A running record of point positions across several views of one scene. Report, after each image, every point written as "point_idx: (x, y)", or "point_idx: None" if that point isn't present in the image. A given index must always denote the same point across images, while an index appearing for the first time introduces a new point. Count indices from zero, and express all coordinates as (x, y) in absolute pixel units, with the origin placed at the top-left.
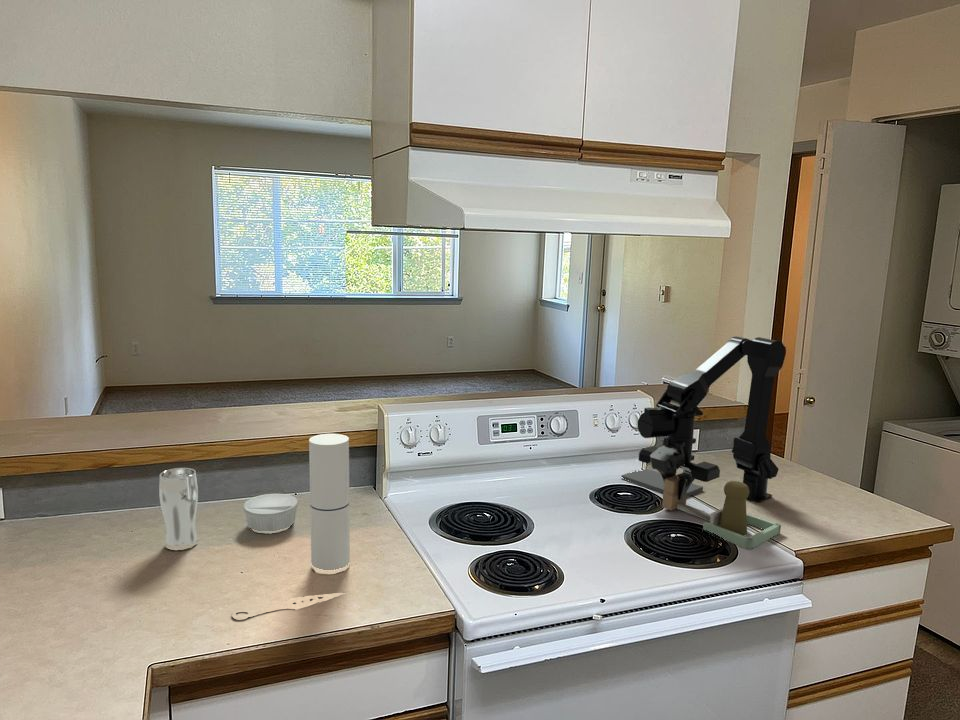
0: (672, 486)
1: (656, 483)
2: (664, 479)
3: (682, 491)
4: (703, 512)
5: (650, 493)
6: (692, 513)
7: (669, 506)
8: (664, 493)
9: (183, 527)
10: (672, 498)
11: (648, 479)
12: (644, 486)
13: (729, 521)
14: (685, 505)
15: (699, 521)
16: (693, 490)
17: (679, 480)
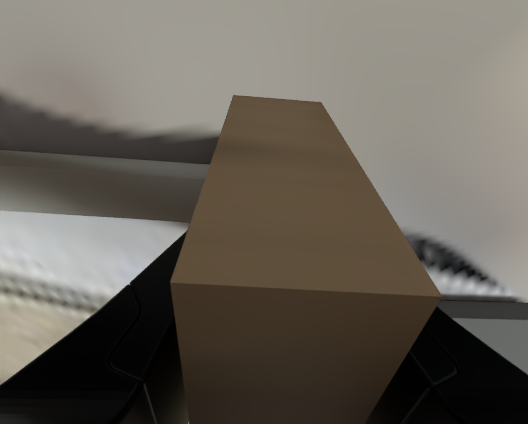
0: (212, 211)
1: None
2: (441, 330)
3: (155, 264)
4: (17, 196)
5: (469, 262)
6: (93, 160)
7: (250, 103)
8: (333, 146)
9: None
10: (221, 136)
11: (518, 357)
12: (519, 304)
13: None
14: (177, 207)
15: (6, 110)
16: None
17: (188, 394)
